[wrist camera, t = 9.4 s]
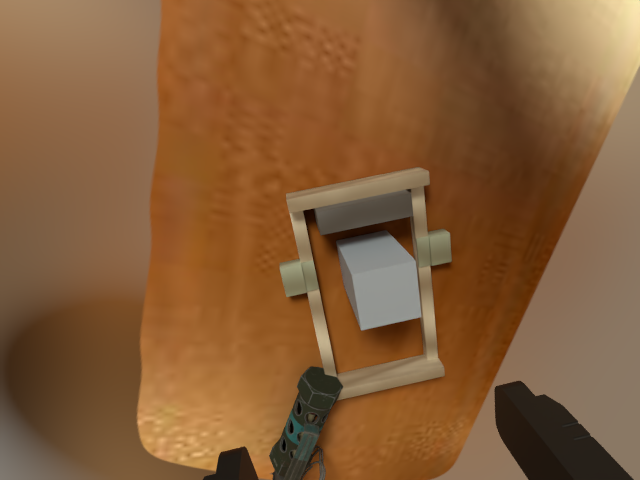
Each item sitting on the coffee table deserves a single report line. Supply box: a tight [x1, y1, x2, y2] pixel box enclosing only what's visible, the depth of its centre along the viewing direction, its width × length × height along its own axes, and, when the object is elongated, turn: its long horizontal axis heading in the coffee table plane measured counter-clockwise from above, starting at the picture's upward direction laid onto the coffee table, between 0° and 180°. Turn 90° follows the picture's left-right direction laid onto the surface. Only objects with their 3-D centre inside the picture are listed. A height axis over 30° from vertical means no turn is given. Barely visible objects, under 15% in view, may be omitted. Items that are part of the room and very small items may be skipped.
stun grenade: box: [269, 367, 343, 480], centre depth 39 cm, size 6×6×14 cm
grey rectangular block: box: [336, 230, 421, 330], centre depth 32 cm, size 5×5×8 cm
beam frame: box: [280, 167, 452, 400], centre depth 35 cm, size 22×16×4 cm
